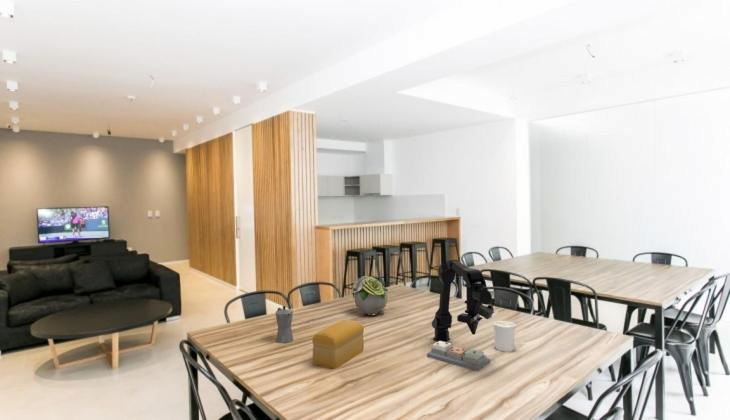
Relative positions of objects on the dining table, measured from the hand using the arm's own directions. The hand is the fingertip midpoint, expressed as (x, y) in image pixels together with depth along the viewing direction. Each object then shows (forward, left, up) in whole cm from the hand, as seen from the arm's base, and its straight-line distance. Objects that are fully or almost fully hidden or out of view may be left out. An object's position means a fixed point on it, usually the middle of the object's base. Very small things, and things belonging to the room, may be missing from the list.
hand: (473, 334), depth 173 cm
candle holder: (+3, +26, -13) cm, 30 cm away
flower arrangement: (-86, +31, -13) cm, 92 cm away
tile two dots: (-16, 0, -10) cm, 19 cm away
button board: (-8, 0, -13) cm, 15 cm away
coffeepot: (-91, -34, -13) cm, 98 cm away
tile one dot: (0, 0, -10) cm, 10 cm away
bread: (-52, -32, -14) cm, 62 cm away
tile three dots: (-8, 0, -11) cm, 14 cm away
